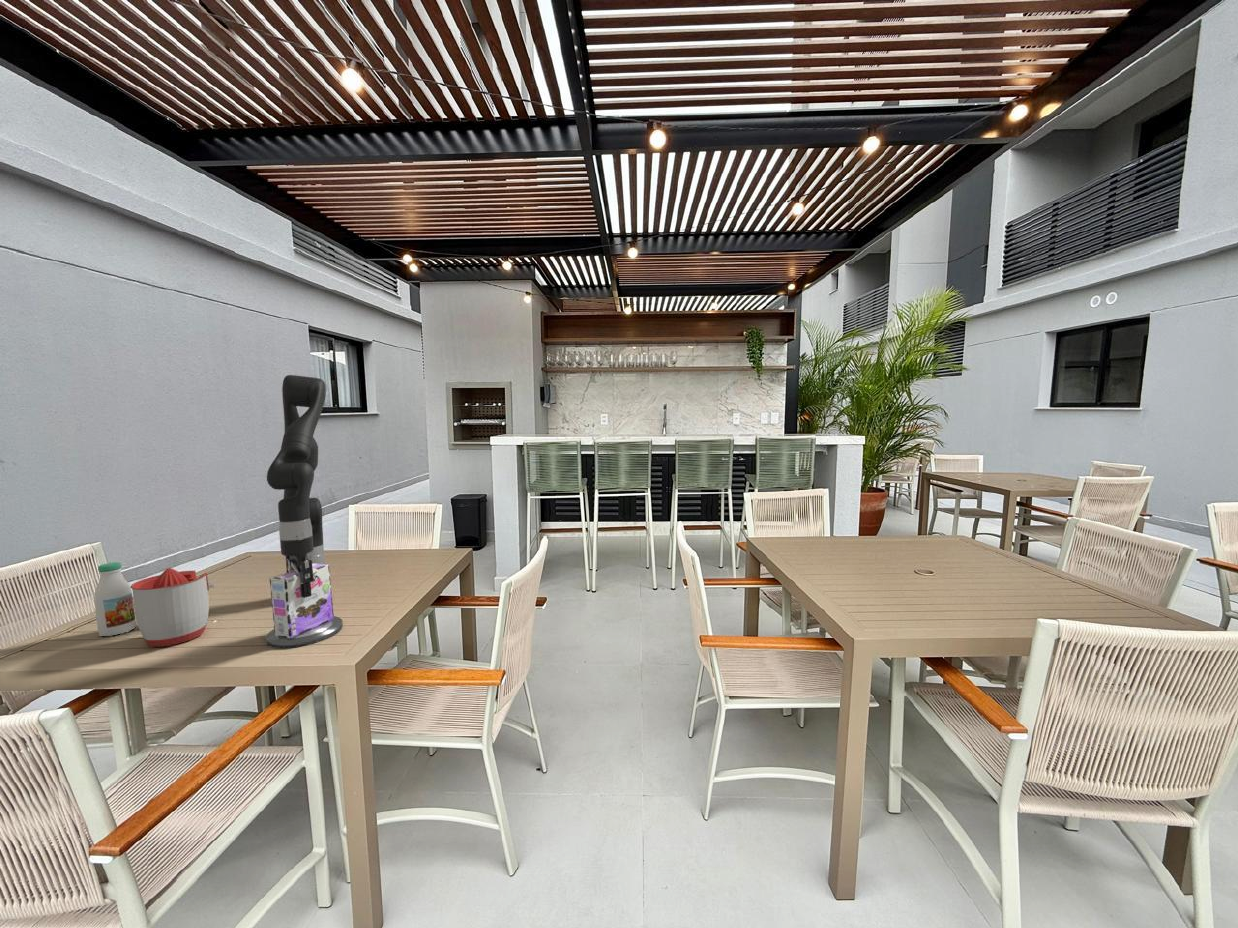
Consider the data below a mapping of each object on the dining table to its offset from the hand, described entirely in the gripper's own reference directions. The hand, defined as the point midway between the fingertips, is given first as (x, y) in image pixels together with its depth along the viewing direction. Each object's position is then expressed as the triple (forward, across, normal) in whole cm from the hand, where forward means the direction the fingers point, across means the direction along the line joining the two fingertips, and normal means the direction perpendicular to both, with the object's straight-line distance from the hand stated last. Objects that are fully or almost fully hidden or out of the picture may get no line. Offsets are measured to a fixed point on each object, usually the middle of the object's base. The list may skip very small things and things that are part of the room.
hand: (301, 593), depth 139 cm
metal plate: (+12, 0, 0) cm, 12 cm away
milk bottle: (+12, -46, -34) cm, 58 cm away
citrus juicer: (+12, -26, -23) cm, 36 cm away
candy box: (+10, 0, 0) cm, 10 cm away
